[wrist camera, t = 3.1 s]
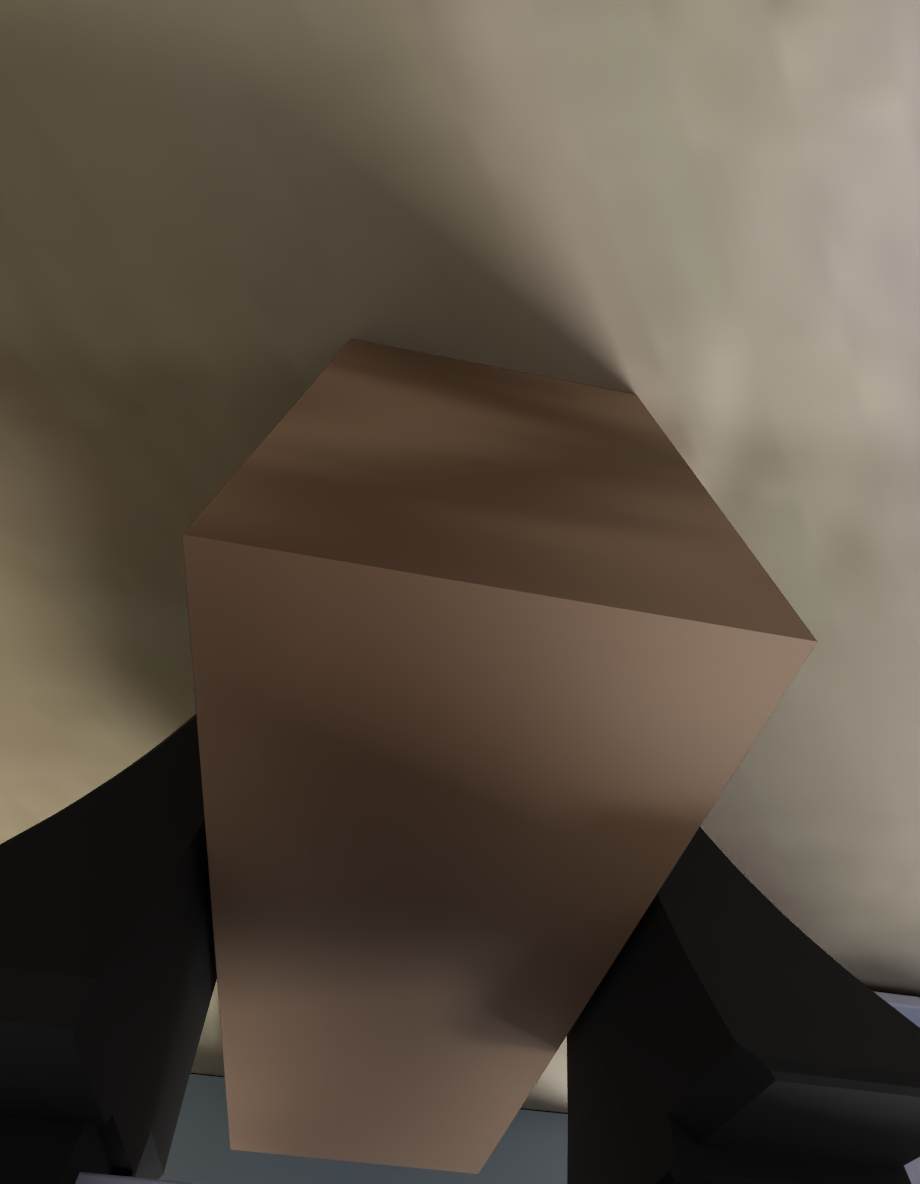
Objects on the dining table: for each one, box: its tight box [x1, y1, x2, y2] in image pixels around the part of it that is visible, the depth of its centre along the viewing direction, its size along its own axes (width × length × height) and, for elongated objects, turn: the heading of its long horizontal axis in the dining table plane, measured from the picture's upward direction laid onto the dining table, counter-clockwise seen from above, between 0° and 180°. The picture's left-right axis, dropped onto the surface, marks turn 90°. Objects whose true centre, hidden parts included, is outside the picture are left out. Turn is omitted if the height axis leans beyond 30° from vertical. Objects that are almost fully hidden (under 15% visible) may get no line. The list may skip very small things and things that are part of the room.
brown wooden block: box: [183, 339, 817, 1174], centre depth 11 cm, size 5×14×7 cm, turn 170°
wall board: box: [159, 1074, 568, 1184], centre depth 21 cm, size 24×18×9 cm
